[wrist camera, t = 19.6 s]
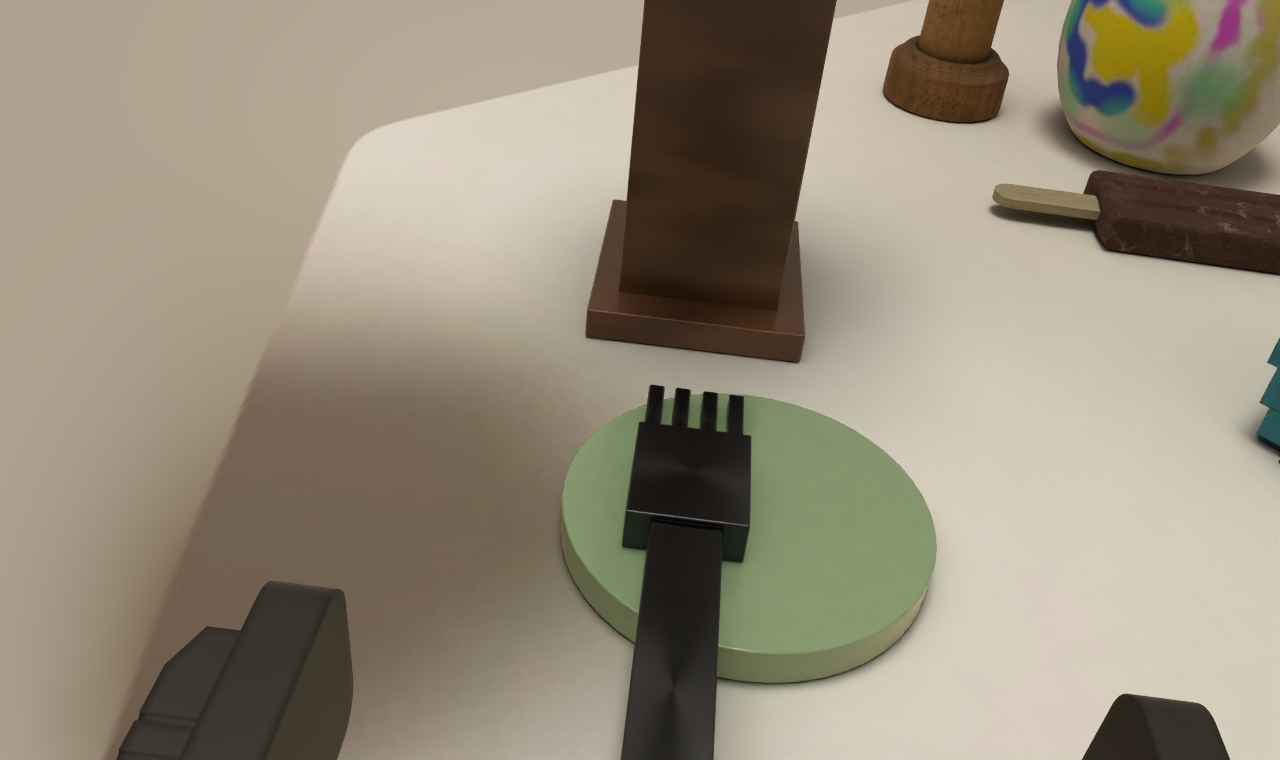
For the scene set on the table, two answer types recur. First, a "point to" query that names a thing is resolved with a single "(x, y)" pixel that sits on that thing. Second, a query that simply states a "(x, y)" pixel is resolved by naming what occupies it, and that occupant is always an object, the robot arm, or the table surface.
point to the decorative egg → (1171, 80)
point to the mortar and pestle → (950, 64)
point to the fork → (682, 569)
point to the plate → (772, 543)
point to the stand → (715, 179)
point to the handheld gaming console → (1272, 404)
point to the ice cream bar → (1167, 218)
